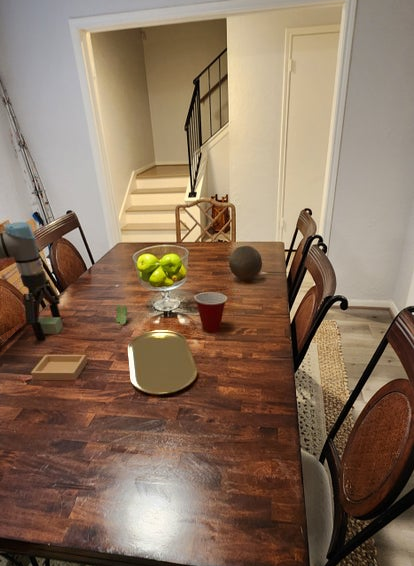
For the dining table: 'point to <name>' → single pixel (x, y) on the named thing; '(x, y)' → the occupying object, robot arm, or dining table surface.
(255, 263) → the dark grey ball
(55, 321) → the green rectangular block
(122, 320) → the seedling
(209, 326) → the plastic cup
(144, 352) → the serving platter
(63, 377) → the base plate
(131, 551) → the dining table surface
